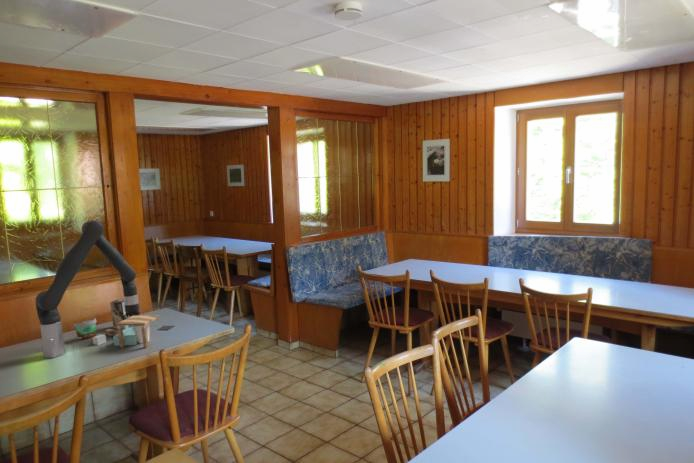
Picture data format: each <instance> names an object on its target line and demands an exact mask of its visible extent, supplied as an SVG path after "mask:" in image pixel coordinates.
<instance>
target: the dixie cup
mask: <svg viewBox="0 0 694 463" xmlns="http://www.w3.org/2000/svg"><path fill="white" fill-rule="evenodd" d="M150 325H151V322H150V323H148V324H146V330H147V339H148V343H149V342H150V327H151V326H150ZM133 326H134V329H135V333H136V334H135V335H136V339H137V344H143V336H142V328H141V325H133Z"/></svg>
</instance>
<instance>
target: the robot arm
mask: <svg viewBox="0 0 694 463" xmlns="http://www.w3.org/2000/svg"><path fill="white" fill-rule="evenodd" d="M104 230H105V229H104V224H103V223H101V221H98V220H89V221H86V222H84V223H83V224H82V226H81V232H82V234H81V236H80V238H79V239H78V241H77V242H76V243H75V244H74V245H73V246H72V247H71V248H70V250H68V252H67V253H66V254H65V256H64V257H63V259H61V262H60V263H59V265H58V267H57V270H56V272H55V276H54V278H53V282H52V283H51V285H50V287H49V288H48V289H47V290H44V291H40V292H39V293H38V294H37V295H36V297H35V309H36V312H37V318H38V320H39V324H40V332H41V338H42V339H41V340H40V342H41V348H42V349H41V350H42V355H43V358H45V359H48V358H49V359H50V358H52V359H53V358H57V357H60V356H63V355H64V354H66V345H65V344H66V343H65V339H64V338H65V337H64V332H63V326H62V324H63V323H62V318H61V315H60V312H59V310H58V306H59V305H60V303H61V301H62V299H63V297H64V295H65V293H66V291H67V289H68V287H69V286H70V284H71V283H72V281H73V280H74V278H75V276H76V275H77V274H78V272H79V270H80V269H81V267H82V266H83V264H84V262H85V261H86V259H87V257H88V255H89V253H90V251H91V250H92V248H93V246H94V245H95V246H96V247H97V249H98V250H99V251H100V252H101V253H102V255H103V256H104V257H105V258H106V259H107V261H108V262H109V263H110V264H111V265H112V267H113V268H115V269H116V271H117V272H118V273H119V274H120V275H119V276H120V282H121V285H122V289H123V290H122V292H123V300H124V305H125V312H126V314H125V315H123V316H122V319H123V320H125V319H127V318H129V317H131V316H133V315H142V314H141V312H140V302H139V296H138V289H137V285H136V284H135V279H136V278H137V273H136V271H135V269H134V268H133V267H132V266H131V265H130V264H129V263H128V262H127V261H126V259H125V257H124V256H123V255H122V254H121V253H120V252H119V250H118V249H117V248H116V247H114V245H113V244H111V243H110V241H108V240H107V238H106V237H105V235H104ZM128 326H131V325H128Z"/></svg>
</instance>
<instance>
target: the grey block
mask: <svg viewBox="0 0 694 463" xmlns="http://www.w3.org/2000/svg"><path fill="white" fill-rule="evenodd" d="M91 339H92V343H93V344H92V345H95V346H100V345H102V344H104V343H107V335H105V334H98V335H96V336H95V337H92V338H91Z"/></svg>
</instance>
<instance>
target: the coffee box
mask: <svg viewBox="0 0 694 463" xmlns="http://www.w3.org/2000/svg"><path fill="white" fill-rule="evenodd" d="M109 303H110V304H109V306H110V312H111V317H112V318H111V320H112V327H113V329H117V323H119V322H121V321H123V319H122V316H123V315H125V314H126V312H125V305H124V299H115V300H113V301H110V302H109ZM127 327H129V326H128V325H122V330H124V329H126V328H127Z"/></svg>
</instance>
